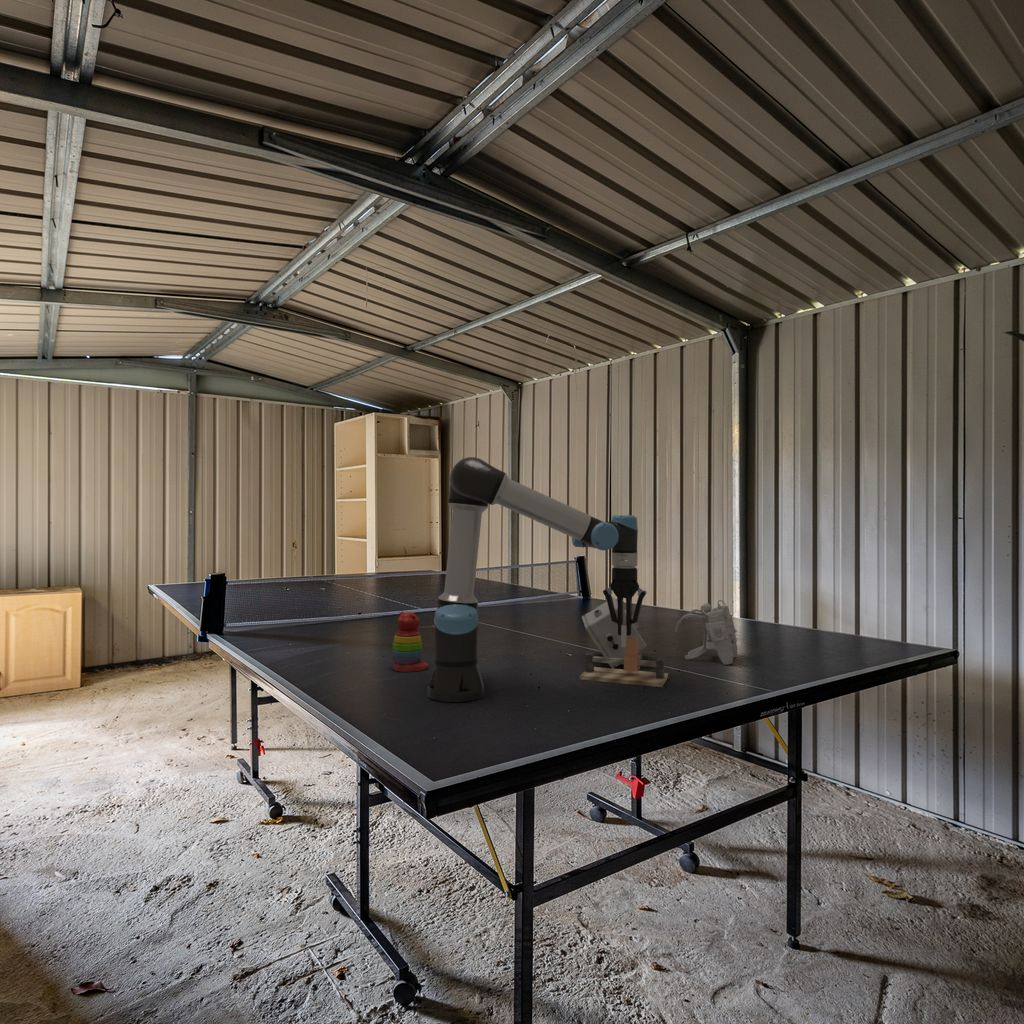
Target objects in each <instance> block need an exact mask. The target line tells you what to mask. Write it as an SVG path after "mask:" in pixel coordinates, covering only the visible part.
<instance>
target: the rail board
mask: <svg viewBox="0 0 1024 1024" xmlns="http://www.w3.org/2000/svg"><path fill="white" fill-rule="evenodd" d="M584 657H585V659H584V660H585V661H584V663H585V664H584V668H585V669H584V671H583V672H582V673H581V674H580V675H579V681H580V680H582V681H592V682H603V683H613V684H623V685H624V684H625V685H635V686H643V687H644V686H645V687H655V688H656V687H657V688H663V687H664V685H665V684H666V681H667V679H668V678H669V673H668V672H665V658H663V657H661V658H660V657H658V658H656V659H655V660H645V659H641V660H638V666H640V667H650V668H655V671H646V670H638V672H637V671H626V670H624V668H623V669H621V668H613V669H612V668H611V667H610V668H608V667H601V666H600V667H597V666H595V663H599V664H600V663H601V664H602V663H603V664H608V663H612V664H620V665H624V659H621V658H609V657H604V656H595V653H594V652H586V653H585V654H584Z"/></svg>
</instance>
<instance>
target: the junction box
mask: <svg viewBox="0 0 1024 1024" xmlns="http://www.w3.org/2000/svg"><path fill="white" fill-rule="evenodd" d="M612 599H613V603H614V608H615V612H616V616H617V618H618V602H617V597H616V598H615V597H612ZM633 616H634V615H632V619H633ZM581 619H582V622H583V625H584V627H585V628H584V629H585V630H586V631H587V632H588V635H589V636H590V638H591V640H593V642H594V643H595V645H596V647H597V648H598V650H599V652H601V654H602V657H609V658H621V659H624V655H625V654H626V647H621V635H618V624H617V623H615V622H612V620H611V616H610V612H609V607H608V603H607V601H605V602H603V603H602V604H600V605H599V606H597V607H596V608H594V609H592V610H591V611H589V612H586V613H585V614H584V615H581ZM623 624H626V602H625V601H624V600H623ZM639 628H640V625H639V623H638V621H637V622H636V623H633V624H632V625H631V635H630V636H628V637H635V638H638V654H640V660H643V653H642V652H641V651H642V650H644V649H645V648H647V643H646V642H645V641H644V639H643V638H642V636H641V634H640V633H639V631H638V629H639ZM607 664H608V665H609V666H610V668H611V669H616V667H618V666H620V665H621V664H612V663H607Z"/></svg>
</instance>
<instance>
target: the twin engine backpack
mask: <svg viewBox="0 0 1024 1024" xmlns="http://www.w3.org/2000/svg"><path fill="white" fill-rule="evenodd" d="M720 602H722V603H723V605H721V604H720ZM696 612H697V613H701V615H699V614H696ZM730 612H731V611H730V608H729V606H728V605H726V603H725V602H724V600H723V599H719V600H717V607H713V608H712V605H711V604H710V603H708V602H705V603H703V604H702V605H701V606H700V609H696V608H695V609H692V610H690V611H689V612H688V613H687V614H684V615H683V616H682V617H681V618H680V619H678V621H677V624H676V626H675V629H674V630H675V631H674V632H675V633H677V630H678V626H679V625H680V624H681V622H682V621H683V620H684V619H685V620H688V618H693V619H697V620H699V621H700V622H701V623H702V627H703V645H702V646H698V647H696V648H693V649H691V650H689V651H688V652H687V654H685V655H684V659H685V660H691V659H695V658H698V657H700V656H702V655H703V654H704V653H705V652H708V650H715V651H717V654H718V658H719V660H720V662H721V663H722V664H723V665H724V666H725V665H731V664H733V663H734V658H736V657H738V645H737V642H738V639H737V635H736V633H737V632H738V631H737V630H736V627H735V623H734V620H733V614H731V613H730Z"/></svg>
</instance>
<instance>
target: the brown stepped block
mask: <svg viewBox="0 0 1024 1024" xmlns="http://www.w3.org/2000/svg"><path fill="white" fill-rule="evenodd" d="M638 660H640V654H638V638H635V637H627V638H626V654H625V655H624V664H623V670H626V671H637V672H638V671H640V669H641V666H638Z"/></svg>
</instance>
